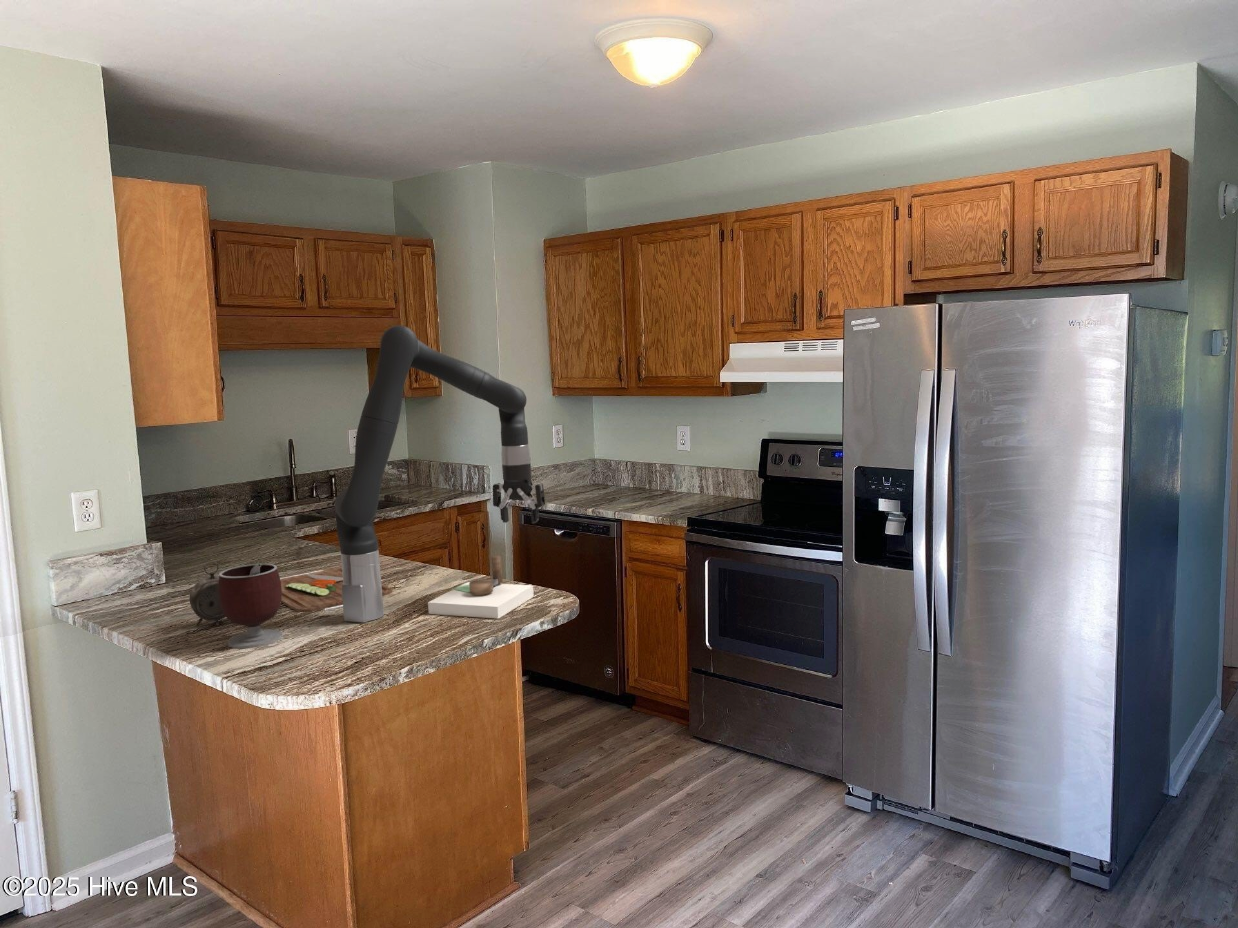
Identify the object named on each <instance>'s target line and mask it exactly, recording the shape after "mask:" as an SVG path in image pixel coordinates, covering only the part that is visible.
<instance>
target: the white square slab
mask: <svg viewBox="0 0 1238 928" xmlns="http://www.w3.org/2000/svg"><path fill="white" fill-rule="evenodd" d="M470 582H471V581H466V582H465V583H463V584H461V585H459V586H457V587H455V588H452V589H451V590H450V591H449V590H448V592H445V593H443V594H441V595H439V596H437V597H436V598H434V599H432V600H430V601H428V602H427V607H428V615H439V616H440V615H441V616H456V617H457V616H458V617H470V618H482V619H483V618H484V619H486V618H487V619H500V618H502V617H504V616H505V615H506V614H509V612H511V611H513V610H515V609H516V608H518V607H519V606H521V605H523V604H524V603H525V602H527V601H528V600H530V599H532V598H534V585H531V584H527V585H526V584H513V583H510V584H508V583H498V584H496V585H495V586H493V592H491V593H488V594H482V595H474V594H471V593H470V586H469V583H470Z"/></svg>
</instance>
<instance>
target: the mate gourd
mask: <svg viewBox="0 0 1238 928" xmlns="http://www.w3.org/2000/svg"><path fill="white" fill-rule="evenodd" d="M279 573H280V572H279V570H278V566H277V565H276V564H272V563H253V564H245V565H239V566H234V567H229V568H227V569H224V570H222V571H220V572H219V574H218V576H219V585H218V593H219V601H220V605H221V609H222V611H223V614H224V615H225V616H226V618H227V619H228V620H229V621H230V623H232V624H235V625H240V626H245V627H247V630H246V632H242V633H239V634H236V635H234V636H232V637H230V638H228V640H227V646H228V647H230V648H233V649H254V648H260V647H264V646H269V645H271V644H274V643H276V642H278V641H280V640H282V639H283V637H284V636H283V631H281V630H279V629H273V628H272V629H268V628H267V629H263V628H262V627H261V626H262V624H263V623H265V622H267V621H269V620H271V619H273V618H274V617H275V616H276V615H277V613H278V612H279V609H280V608H281V605H282V603H281V599H282V588H281V580H280V578H281V577H280V574H279Z"/></svg>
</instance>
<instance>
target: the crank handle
mask: <svg viewBox="0 0 1238 928" xmlns="http://www.w3.org/2000/svg"><path fill="white" fill-rule="evenodd" d="M490 559H491V571H492V573H491V575H492V579H477V580H472V581H469V582H470V583H469V586H470V593H471V594H474V595H482V594H488V593H491V592H493V586H495V585H496V584H498V583H500V584H503V568H502V566H503V565H502V555H492V556H491V558H490Z"/></svg>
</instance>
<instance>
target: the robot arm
mask: <svg viewBox="0 0 1238 928" xmlns="http://www.w3.org/2000/svg"><path fill="white" fill-rule="evenodd" d="M379 342H380V343H379V345H380V346H379V347H380V348H379V355H378V360H377V365H376V367H377V368H376V372H375V376H374V379H373V382H372V384H371V387H370V389H369V392H368V393H367V398H366V400H365V402H364V405H363V407H362V408H363V409H362V412H361V415H360V419H359V422H358V426H357V430H356V435H355V447H354V465H353V470H352V471H353V472H352V474H351V478H350V481H349V485H348V486H347V488H345V489H343V490H342V491H340V492H339V494H338V495H337V496H336V499H335V500H334V501H335V502H334V514H335V515H334V516H335V526H336V534H337V540H338V544H339V548H340V549H339V550H340V559H341V568H342V573H343V584H342V585H341V588H342V599H343V607H342V609H343V619H344V620H343V621H344V622H351V623H353V622H354V623H366V622H369V621H370V622H371V621H374V620H377V619H380V618H383V616H384V615H385V613H384V611H385V610H384V599H383V596H382V586H381V584H382V579H381V564H380V553H379V552H380V551H379V541H378V538H377V534H376V531H375V530H376V529H375V524H374V518H375V517H376V515H377V512H378V507H379V500H380V492H381V488H382V487H381V486H382V481H383V477H384V473H385V469H386V466H387V463H388V461H389V457H390V454H391V451H392V448H393V444H394V441H395V437H396V434H397V429H398V425H399V422H400V417H401V412H402V404H403V396H404V391H405V390H404V388H405V384H406V381H407V378H408V375H409V371H410V368H412V369H416V370H419V371H421V372H423V373H425V374H428V375H431V376H433V377H435V378H437V379H439V380H441V381H443V382H445V383H446V384H449V385H450V386H452V387H455V388H456V389H458V390H460V391H462V392H464V393H466V394H469V395H471V396H473V397H475V398H477V399H481V400H483V401H485V402H487V403H489V404H490V405H492V406H494V407H496V408H497V409H498V414H499V415H498V416H499V421H500V441H501V442H500V443H501V453H500V454H501V455H500V457H501V469H502V470H501V471H502V480H503V483H502V484H501V483H500V482H498V483H493V485H492V506H493V507H497V508H499V512H500V513H499V514H500V520H501V521H502V523H504V524H505V523H508V522H510V521H509V520H510V519H509V518H510V517H509V508H508V506H509V504H510V502H511V501H517V500H518V501H524V502H525V503H526V504H528V505H529V507H530V517H531V518H530V519H531V524H536V523H538V521H539V519H540V515H539V514H540V513H539V512H540V508H541V507H543V506H546V499H545V497H546V496H545V489H544V484H543V483H541V482H540V483H536V484H533V482H532V466H531V465H532V464H531V460H532V459H531V453H530V446H529V435H528V427H527V424H526V417H525V415H526V414H525V412H526V411H525V407H526V405H527V395H526V393H525V392H524V390H522V389H521V388H520V387H518V386H515V385H513V384H511V383H509V382H506V381H503V380H502V379H499V378H497V377H495V376H493V374H492V375H491V374H490V373H489V372H486V371H485V370H483V369H480V368H479V367H476V365H475V366H474V365H472V364H470V363H468V362H465V361H463V360H460V359H457V358H454V357H452V356H449V355H446V354H444V353H441V352H439V351H438V350H436V349H433V348H431V347H430V346H428V345H427V344H425V343H424V342H422V340H419V339H418V337H417V335H416V334H415V332H414V331H413V330H412V329H411V328H410V327H408V326H405V325H402V324H401V325H393V326H391V327H389V328H388V329H386V330H385V331H384V332H383V334H382V336H381V338H380V341H379ZM532 491H534V493H535V495H536V497H535V496H534V494H533V493H532ZM502 492H504V493H505V495H504V496H503V498H502Z"/></svg>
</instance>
